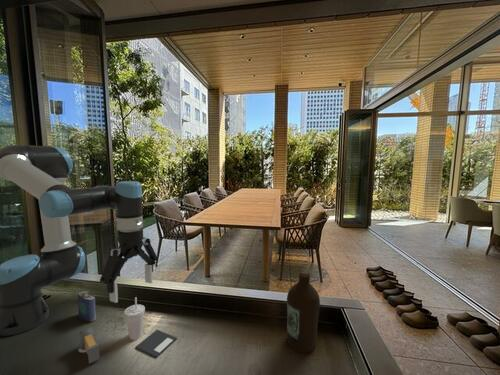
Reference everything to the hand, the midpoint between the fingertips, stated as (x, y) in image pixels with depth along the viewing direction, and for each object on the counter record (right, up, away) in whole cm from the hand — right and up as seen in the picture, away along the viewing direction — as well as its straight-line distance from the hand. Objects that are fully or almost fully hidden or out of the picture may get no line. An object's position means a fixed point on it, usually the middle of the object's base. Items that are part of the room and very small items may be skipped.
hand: (132, 291), depth 83 cm
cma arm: (-10, -16, -6) cm, 20 cm away
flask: (-23, -15, +11) cm, 29 cm away
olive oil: (+56, -18, +1) cm, 59 cm away
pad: (+9, -17, -1) cm, 19 cm away
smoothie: (0, -16, +2) cm, 17 cm away
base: (-13, -16, -3) cm, 21 cm away
